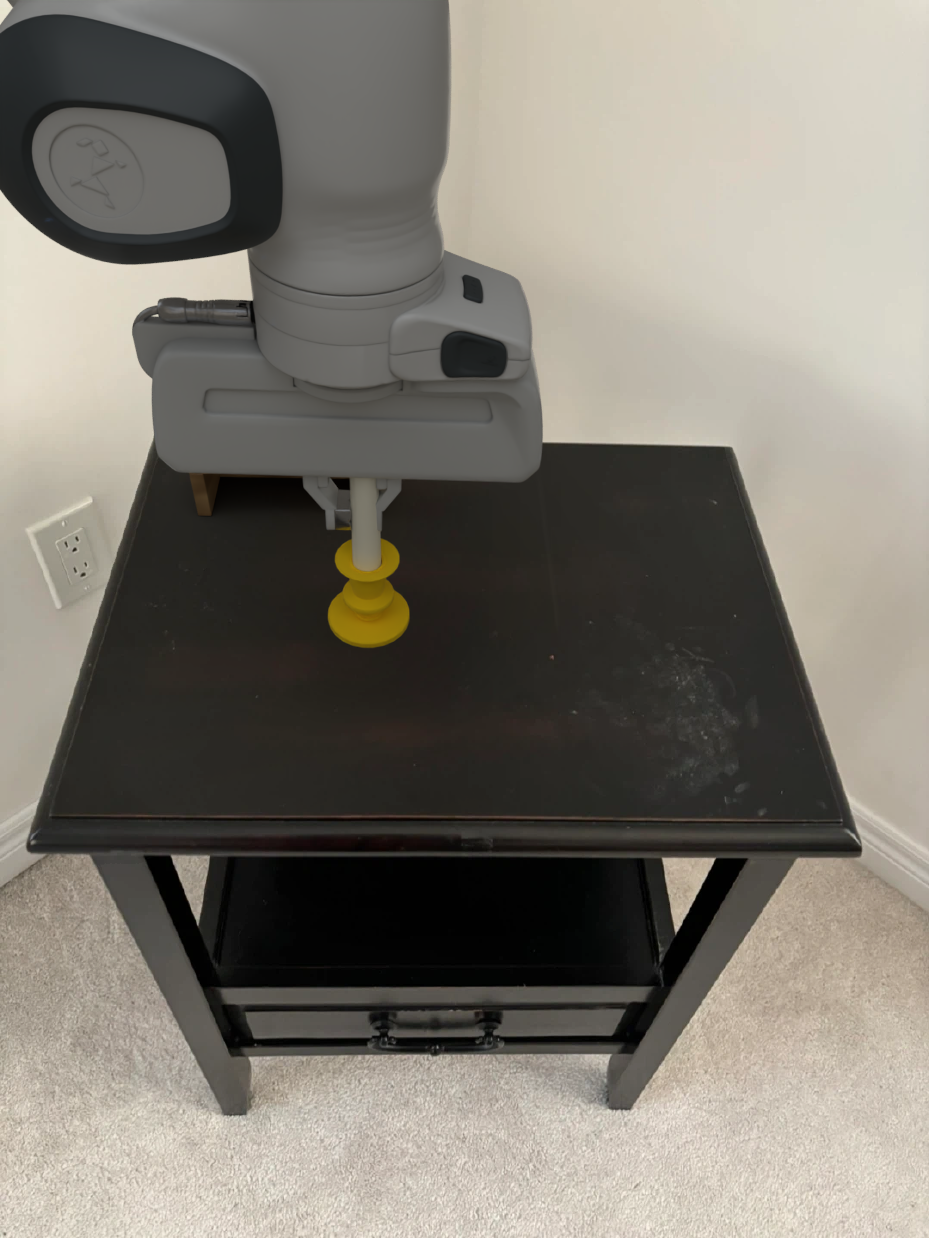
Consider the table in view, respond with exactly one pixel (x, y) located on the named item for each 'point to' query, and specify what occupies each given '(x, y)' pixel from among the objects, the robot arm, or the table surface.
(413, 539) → the table surface
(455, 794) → the table surface
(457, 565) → the table surface
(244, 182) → the robot arm
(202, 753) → the table surface
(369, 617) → the candle
